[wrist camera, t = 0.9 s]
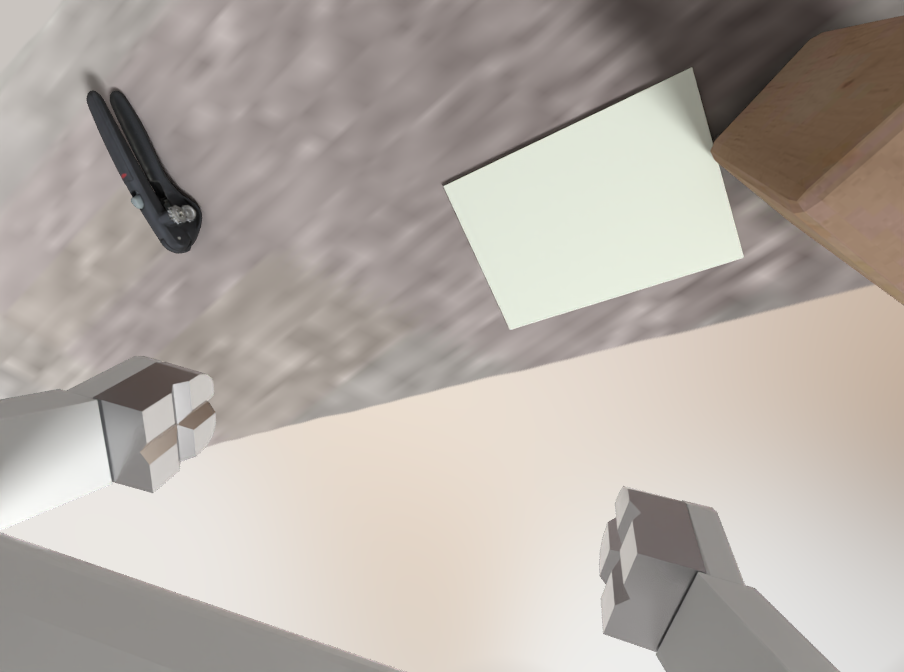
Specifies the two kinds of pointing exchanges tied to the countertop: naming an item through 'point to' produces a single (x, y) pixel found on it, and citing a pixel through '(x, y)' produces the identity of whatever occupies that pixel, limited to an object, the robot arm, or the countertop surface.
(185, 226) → the can opener
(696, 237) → the mat
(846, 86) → the wooden block
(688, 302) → the countertop surface
